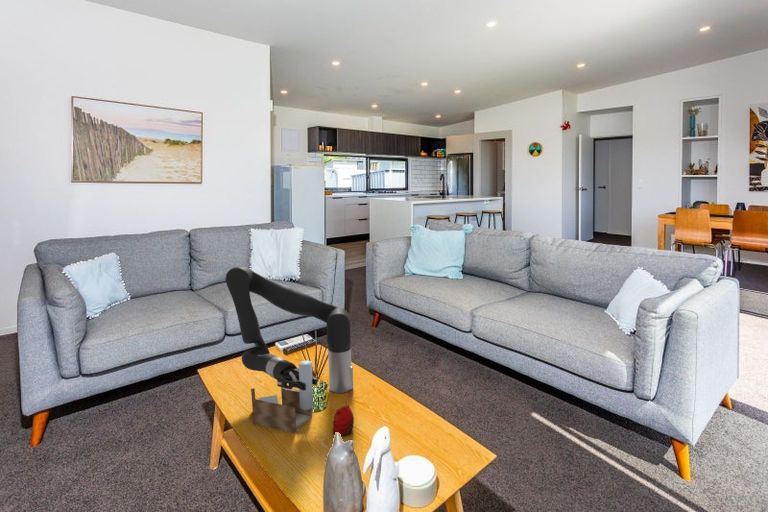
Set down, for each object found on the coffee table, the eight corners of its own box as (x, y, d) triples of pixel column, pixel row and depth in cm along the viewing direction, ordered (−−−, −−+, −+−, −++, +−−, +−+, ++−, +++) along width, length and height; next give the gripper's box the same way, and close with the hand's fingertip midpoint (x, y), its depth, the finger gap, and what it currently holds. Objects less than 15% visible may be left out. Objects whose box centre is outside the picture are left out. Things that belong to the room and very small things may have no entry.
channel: (307, 401, 162) (306, 379, 160) (316, 429, 144) (315, 405, 142) (252, 411, 155) (251, 388, 154) (254, 441, 137) (252, 416, 135)
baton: (307, 401, 148) (306, 359, 145) (315, 406, 145) (314, 363, 142) (297, 406, 144) (296, 363, 142) (305, 411, 142) (304, 367, 139)
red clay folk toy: (343, 422, 147) (342, 383, 145) (358, 429, 143) (357, 389, 141) (328, 433, 141) (326, 392, 138) (344, 440, 137) (343, 398, 134)
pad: (276, 395, 166) (276, 394, 166) (278, 404, 160) (278, 403, 160) (258, 398, 164) (258, 398, 164) (259, 407, 157) (259, 406, 157)
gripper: (263, 366, 146) (293, 382, 135) (296, 354, 157) (326, 367, 146) (264, 386, 148) (294, 403, 137) (297, 372, 158) (327, 387, 147)
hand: (310, 384), depth 141 cm, fingers closed on baton, 4 cm apart
